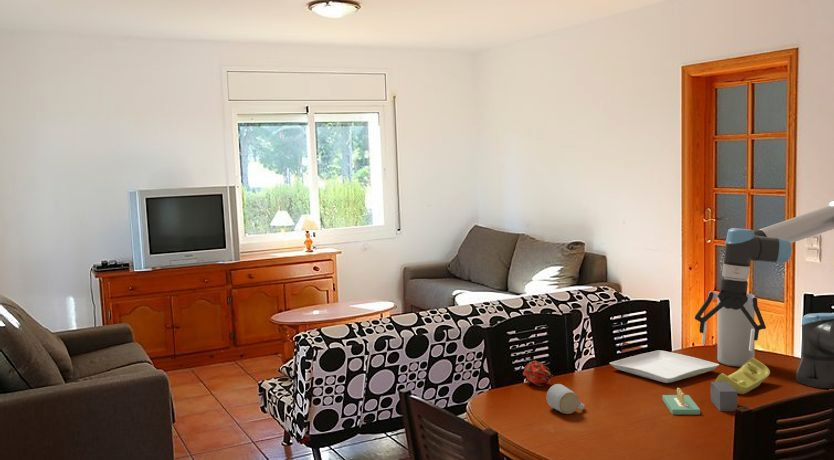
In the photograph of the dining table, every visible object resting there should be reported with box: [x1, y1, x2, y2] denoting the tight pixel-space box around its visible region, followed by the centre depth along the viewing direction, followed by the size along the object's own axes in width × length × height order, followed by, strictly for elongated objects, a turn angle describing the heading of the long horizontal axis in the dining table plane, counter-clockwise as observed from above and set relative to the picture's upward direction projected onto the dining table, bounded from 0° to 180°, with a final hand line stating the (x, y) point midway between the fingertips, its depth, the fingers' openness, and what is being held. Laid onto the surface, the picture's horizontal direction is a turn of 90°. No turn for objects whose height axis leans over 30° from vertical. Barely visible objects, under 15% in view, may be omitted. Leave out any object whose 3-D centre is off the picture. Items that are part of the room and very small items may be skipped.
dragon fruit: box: [522, 360, 554, 387], centre depth 263 cm, size 8×8×12 cm
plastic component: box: [713, 357, 771, 395], centre depth 253 cm, size 20×7×10 cm
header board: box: [662, 387, 701, 415], centre depth 234 cm, size 8×14×5 cm, turn 174°
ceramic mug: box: [545, 383, 585, 415], centre depth 235 cm, size 11×8×8 cm
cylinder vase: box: [716, 293, 756, 368], centre depth 279 cm, size 12×12×25 cm
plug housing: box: [710, 381, 738, 412], centre depth 235 cm, size 14×5×6 cm, turn 174°
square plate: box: [609, 349, 720, 384], centre depth 272 cm, size 27×27×4 cm
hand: (726, 347), depth 235 cm, fingers open, 13 cm apart
